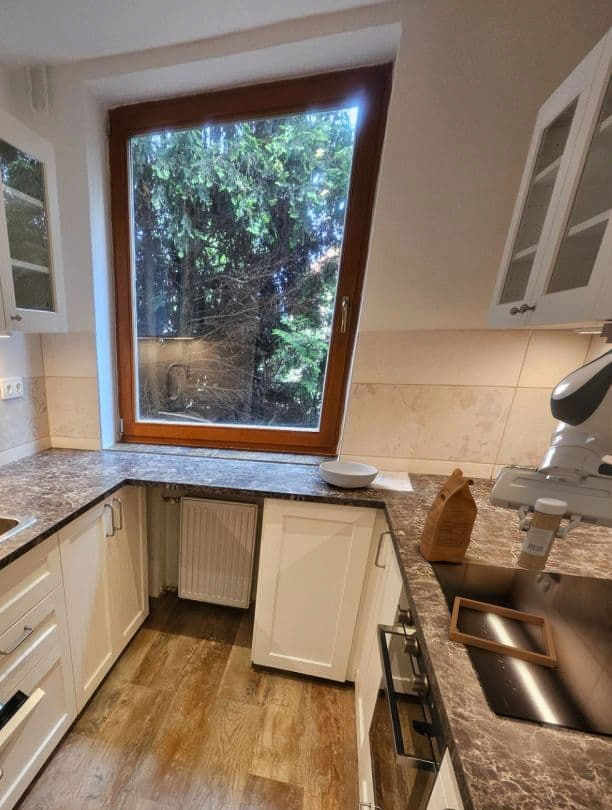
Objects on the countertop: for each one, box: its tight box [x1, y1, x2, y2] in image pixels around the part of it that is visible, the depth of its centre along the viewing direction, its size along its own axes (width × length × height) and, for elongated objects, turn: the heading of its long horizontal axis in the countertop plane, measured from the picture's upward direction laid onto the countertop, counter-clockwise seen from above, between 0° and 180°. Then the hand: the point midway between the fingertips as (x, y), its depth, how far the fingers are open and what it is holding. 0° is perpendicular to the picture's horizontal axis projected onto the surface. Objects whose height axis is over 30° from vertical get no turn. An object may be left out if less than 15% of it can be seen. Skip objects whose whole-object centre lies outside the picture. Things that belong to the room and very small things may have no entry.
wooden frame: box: [447, 596, 558, 669], centre depth 89 cm, size 16×16×3 cm
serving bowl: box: [318, 460, 379, 489], centre depth 179 cm, size 21×21×7 cm
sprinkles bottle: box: [516, 498, 568, 572], centre depth 89 cm, size 5×5×14 cm
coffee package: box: [419, 467, 479, 563], centre depth 118 cm, size 10×12×22 cm
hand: (541, 533), depth 88 cm, fingers closed on sprinkles bottle, 4 cm apart
